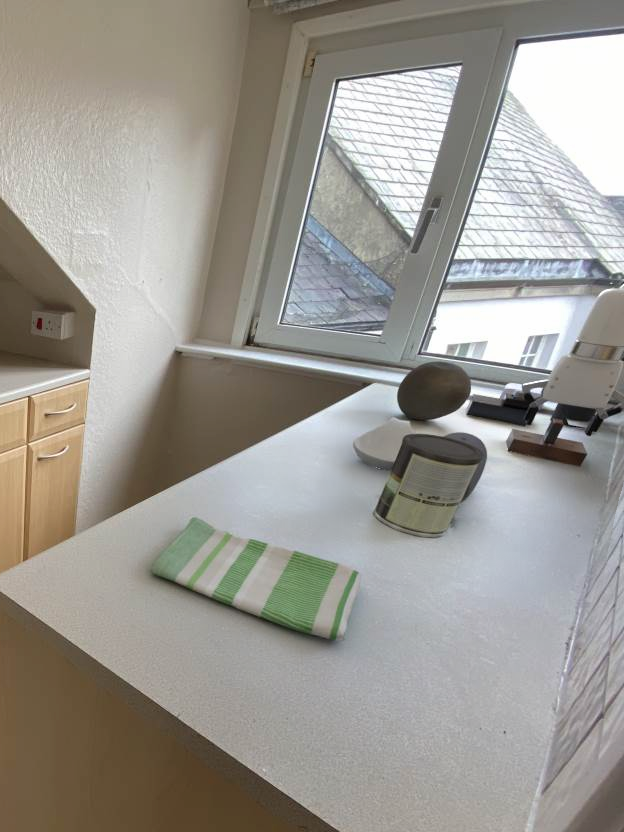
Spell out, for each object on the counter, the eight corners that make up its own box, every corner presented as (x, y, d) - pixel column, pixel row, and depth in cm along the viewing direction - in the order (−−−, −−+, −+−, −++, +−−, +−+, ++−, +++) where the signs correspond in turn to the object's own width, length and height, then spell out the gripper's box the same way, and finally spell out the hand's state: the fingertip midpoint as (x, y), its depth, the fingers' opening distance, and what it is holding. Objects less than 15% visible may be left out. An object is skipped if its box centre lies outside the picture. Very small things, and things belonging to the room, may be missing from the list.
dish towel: (191, 525, 89) (195, 511, 87) (358, 584, 76) (365, 567, 75) (147, 575, 76) (151, 559, 75) (339, 655, 63) (347, 637, 62)
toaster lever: (526, 399, 142) (530, 391, 142) (526, 401, 140) (530, 394, 140) (512, 396, 144) (515, 389, 143) (512, 399, 142) (516, 391, 141)
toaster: (523, 418, 146) (534, 396, 144) (525, 426, 140) (536, 404, 137) (466, 407, 153) (476, 386, 150) (466, 415, 147) (475, 393, 144)
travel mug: (543, 416, 148) (582, 342, 139) (580, 421, 145) (622, 346, 136) (555, 425, 142) (596, 348, 133) (594, 430, 139) (639, 352, 130)
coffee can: (358, 508, 96) (388, 434, 90) (408, 505, 98) (440, 432, 92) (408, 540, 87) (445, 459, 81) (462, 536, 89) (502, 457, 83)
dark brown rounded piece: (385, 419, 141) (407, 362, 134) (392, 407, 151) (413, 353, 144) (453, 434, 133) (480, 373, 126) (456, 420, 142) (481, 363, 136)
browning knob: (542, 436, 124) (553, 417, 122) (552, 438, 124) (563, 419, 121) (543, 442, 121) (554, 422, 119) (553, 444, 120) (564, 424, 118)
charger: (543, 401, 162) (539, 411, 152) (502, 393, 167) (497, 403, 158) (551, 385, 160) (548, 395, 150) (509, 378, 165) (504, 387, 156)
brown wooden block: (575, 454, 124) (582, 441, 122) (580, 466, 117) (588, 453, 116) (506, 440, 130) (512, 428, 129) (507, 451, 124) (514, 438, 123)
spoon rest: (411, 483, 107) (426, 449, 103) (343, 465, 113) (354, 433, 110) (421, 449, 123) (434, 419, 120) (361, 435, 130) (372, 406, 126)
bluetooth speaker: (419, 469, 113) (439, 423, 108) (476, 484, 107) (499, 437, 103) (393, 503, 98) (415, 453, 94) (458, 524, 93) (484, 470, 88)
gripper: (654, 355, 111) (609, 434, 119) (539, 342, 121) (505, 415, 129) (661, 362, 106) (615, 443, 114) (541, 348, 116) (506, 423, 124)
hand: (557, 428), depth 121 cm, fingers open, 9 cm apart
